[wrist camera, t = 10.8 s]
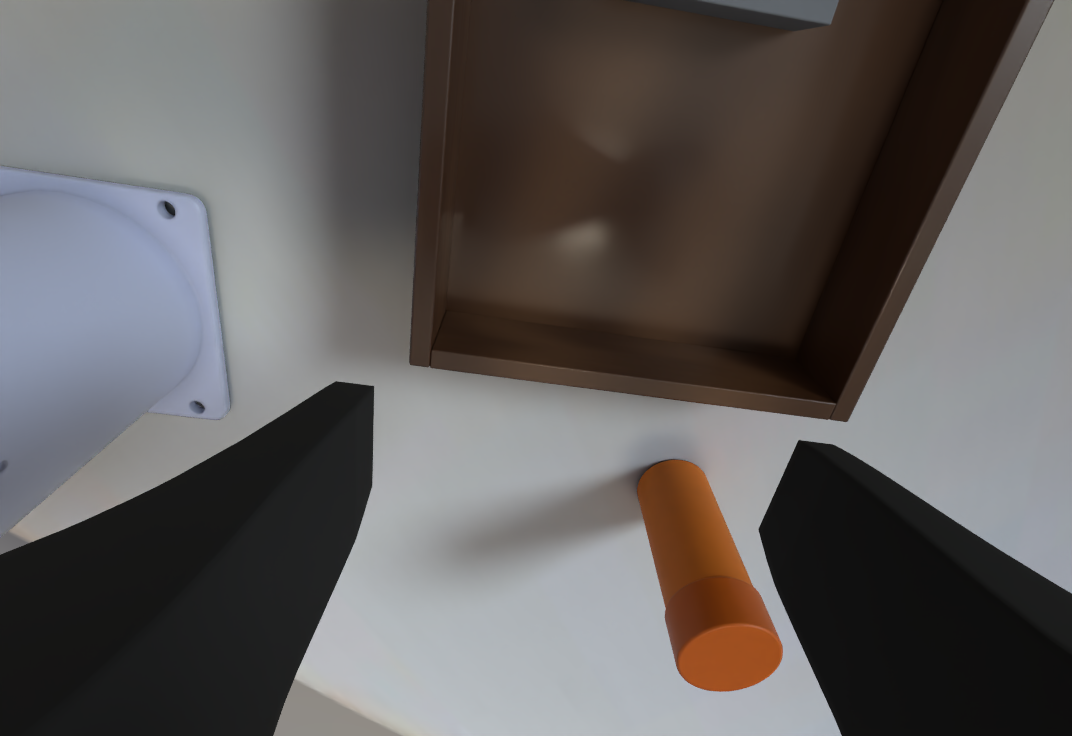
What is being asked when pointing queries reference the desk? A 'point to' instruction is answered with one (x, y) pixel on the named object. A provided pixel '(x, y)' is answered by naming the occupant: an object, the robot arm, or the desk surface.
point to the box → (693, 189)
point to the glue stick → (705, 583)
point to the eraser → (759, 11)
